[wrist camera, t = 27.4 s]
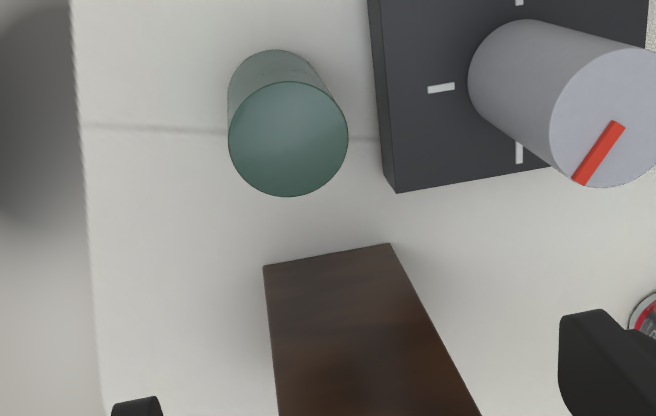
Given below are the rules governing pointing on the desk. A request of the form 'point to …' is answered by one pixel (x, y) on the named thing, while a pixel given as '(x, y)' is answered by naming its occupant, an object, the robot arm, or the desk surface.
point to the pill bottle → (645, 317)
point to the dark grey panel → (462, 81)
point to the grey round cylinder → (569, 99)
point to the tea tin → (284, 125)
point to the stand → (357, 340)
